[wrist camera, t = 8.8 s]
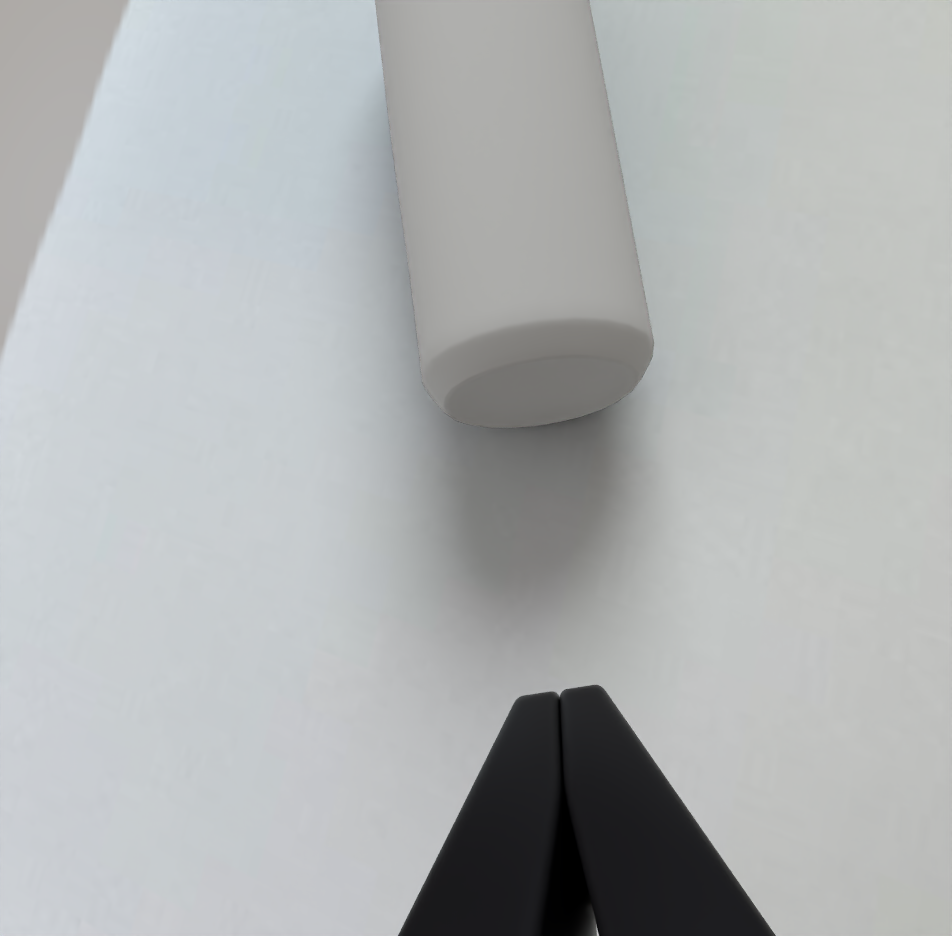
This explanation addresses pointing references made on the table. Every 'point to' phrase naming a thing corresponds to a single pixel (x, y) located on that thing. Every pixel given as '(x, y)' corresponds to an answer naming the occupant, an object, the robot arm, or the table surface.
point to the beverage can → (512, 209)
